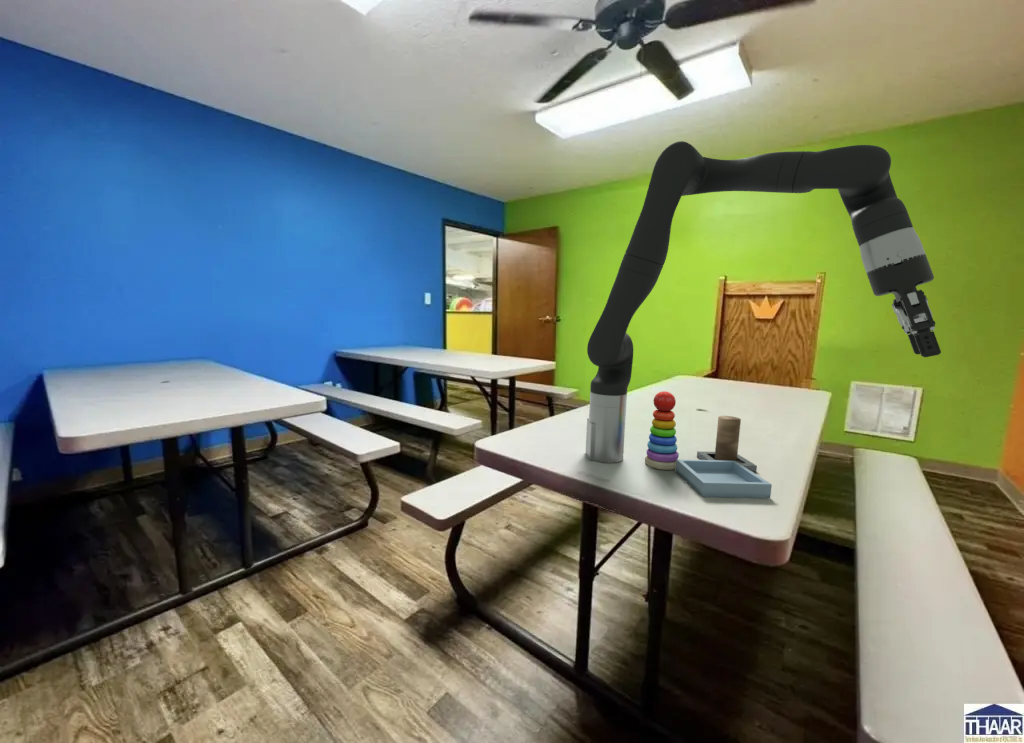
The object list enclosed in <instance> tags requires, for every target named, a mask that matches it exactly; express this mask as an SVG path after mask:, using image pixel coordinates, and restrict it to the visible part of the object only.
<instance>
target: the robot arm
mask: <svg viewBox="0 0 1024 743" xmlns="http://www.w3.org/2000/svg"><path fill="white" fill-rule="evenodd" d="M891 166H892V158H891V155H890V153H889V151H888V150H886V148H883V147H880V146H878V145H873V144H872V145H871V144H856V145H855V144H854V145H848V146H842V147H841V146H840V147H834V148H830V149H829V148H828V149H825V150H820V151H819V150H818V151H809V150H808V151H805V150H803V151H802V150H801V151H795V150H794V151H777V152H775V151H774V152H768V153H763V154H757V155H754V156H753V155H752V156H749V157H744V158H736V159H720V158H717V159H716V158H711V157H705V156H703V155H702V154H701V153H700V152H699V151H698V150H697V149H696V147H695V146H693V145H692V144H690V143H689V142H687V141H685V140H684V141H682V140H679V141H676V142H673V143H671V144H669V145H668V146H667V147H666V148H664V149H663V151H661V153H660V154H659V155H658V157H657V160H656V161H655V163H654V166H653V170H652V173H651V177H650V181H649V185H648V187H647V191H646V195H645V199H644V201H643V205H642V208H641V211H640V213H639V216H638V219H637V221H636V224H635V226H634V229H633V232H632V234H631V237H630V240H629V243H628V245H627V247H626V249H625V252H624V254H623V256H622V260H621V263H620V265H619V268H618V272H617V274H616V277H615V280H614V282H613V285H612V287H611V290H610V293H609V296H608V298H607V301H606V304H605V307H604V308H603V310H602V312H601V315H600V317H599V318H598V319H599V320H597V323H596V325H595V326H594V329H593V330H592V332H591V334H590V337H589V339H588V342H587V346H586V347H587V348H586V353H587V357H588V359H589V361H590V362H591V363H592V364H593V365H594V366H596V367H598V369H597V372H596V375H595V376H594V378H592V379H591V382H590V386H589V387H590V388H589V390H590V391H589V392H590V393H589V409H588V410H589V412H588V417H587V418H586V436H585V437H586V438H585V454H586V457H587V458H588V460H589V461H595V462H601V463H619V462H621V461H623V460H624V452H625V450H624V447H625V436H626V435H625V432H626V419H627V418H626V416H627V415H626V413H627V403H628V402H627V400H628V399H627V398H628V388H629V385H630V382H631V380H632V371H633V361H634V344H633V340H632V338H631V335H630V334H628V333H627V331H628V328H629V325H630V323H631V321H632V319H633V317H634V315H635V314H636V312H637V311H638V309H639V308H640V306H641V305H642V304H643V303H644V301H645V300H646V299H647V297H648V296H650V294H651V292H652V291H653V289H654V288H655V285H656V284H657V282H658V280H659V277H660V274H661V273H662V270H663V267H664V265H665V262H666V260H667V256H668V251H669V245H670V239H671V230H672V229H671V228H672V223H673V219H674V215H675V213H676V210H677V208H678V205H679V203H680V201H681V199H682V197H685V196H692V195H700V194H701V195H702V194H708V193H709V194H710V193H722V192H753V193H754V192H758V193H778V194H779V193H781V194H806V193H810V192H812V191H813V190H827V189H828V190H838V193H839V197H840V198H841V201H842V204H843V205H844V207H845V209H846V212H847V213H848V215H849V217H850V221H851V226H852V231H853V233H854V236H855V238H856V241H857V245H858V248H859V252H860V257H861V258H860V259H861V262H862V265H863V267H864V270H865V273H866V276H867V279H868V281H869V284H870V287H871V290H872V293H873V295H874V296H875V297H881V296H886V295H890V294H891V295H894V299H893V300H892V301H893V302H892V304H891V307H892V310H893V312H894V314H895V315H896V318H897V322H898V323H899V325H900V326H901V329H902V330H903V332H904V333H905V334H906V335H907V337H908V340H909V343H910V345H911V348H912V351H913V353H914V354H916V355H920V356H921V357H922V358H929V357H934V356H935V357H936V356H940V355H941V353H942V351H941V348H940V345H939V343H938V339H937V336H936V334H935V332H934V331H935V328H936V321H935V320H934V319H933V312H932V311H931V309H930V306H929V300H928V298H927V295H926V294H925V292H924V291H923V290H922V289H917V286H918V287H919V286H920V285H925V284H926V283H930V282H932V281H933V280H934V279H935V276H934V273H933V270H932V268H931V265H930V262H929V259H928V257H927V254H926V251H925V249H924V246H923V244H922V241H921V238H920V237H919V235H918V233H917V232H916V230H915V228H914V225H913V223H912V220H911V218H910V215H909V212H908V209H907V207H906V206H905V203H904V201H903V200H901V199H900V198H898V196H897V192H896V190H895V187H894V185H893V180H892V178H891V174H890V169H891Z"/></svg>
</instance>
